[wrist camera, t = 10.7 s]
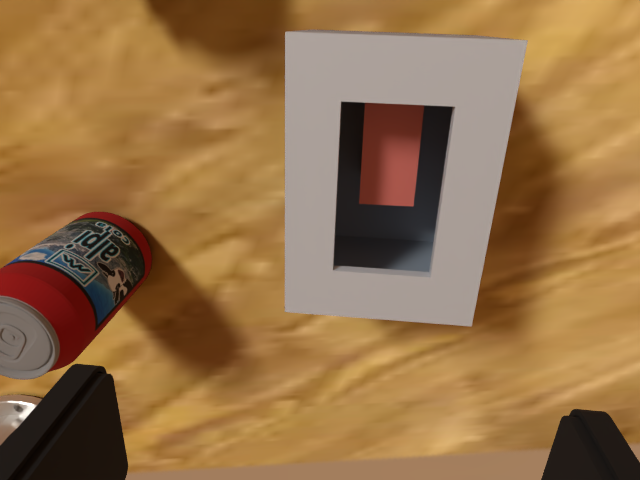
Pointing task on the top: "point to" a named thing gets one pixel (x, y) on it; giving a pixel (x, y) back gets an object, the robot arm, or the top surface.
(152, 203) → the top surface
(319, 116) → the grey box
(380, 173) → the block
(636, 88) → the top surface
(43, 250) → the beverage can
